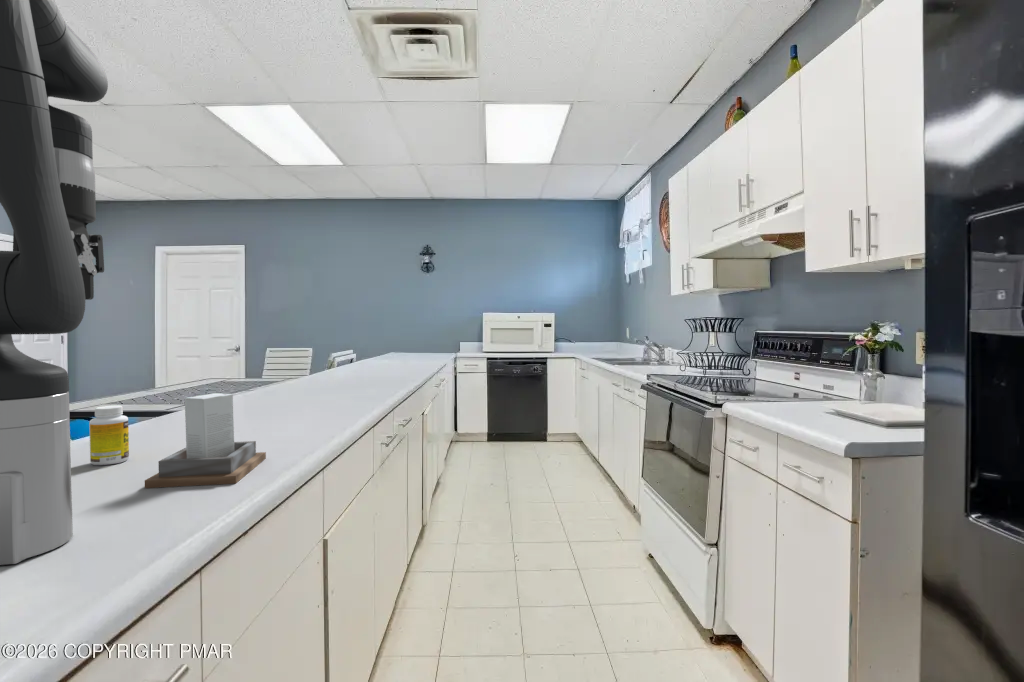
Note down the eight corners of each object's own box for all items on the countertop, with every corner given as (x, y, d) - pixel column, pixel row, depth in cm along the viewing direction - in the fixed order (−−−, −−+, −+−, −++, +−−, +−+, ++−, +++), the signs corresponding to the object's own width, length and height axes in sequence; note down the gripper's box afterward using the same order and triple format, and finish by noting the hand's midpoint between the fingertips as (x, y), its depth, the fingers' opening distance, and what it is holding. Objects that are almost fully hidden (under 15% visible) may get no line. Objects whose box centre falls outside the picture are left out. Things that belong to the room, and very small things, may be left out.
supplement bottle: (130, 462, 90) (128, 407, 90) (90, 468, 87) (88, 410, 86) (128, 456, 94) (127, 403, 94) (90, 461, 91) (89, 406, 91)
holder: (235, 483, 78) (235, 460, 78) (144, 488, 76) (144, 464, 76) (265, 458, 93) (265, 439, 93) (190, 461, 91) (189, 441, 91)
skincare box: (216, 459, 88) (215, 392, 87) (235, 461, 86) (234, 393, 86) (184, 469, 82) (183, 397, 82) (204, 471, 81) (203, 398, 80)
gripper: (67, 198, 78) (69, 300, 78) (-12, 168, 64) (-9, 293, 64) (120, 200, 79) (122, 301, 79) (54, 171, 65) (56, 294, 65)
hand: (63, 297), depth 72 cm, fingers open, 8 cm apart
